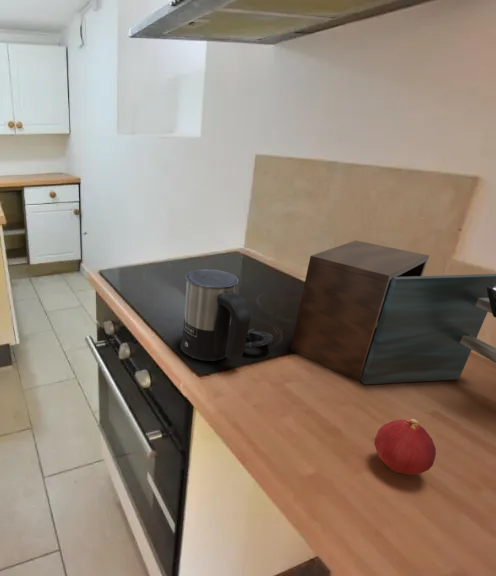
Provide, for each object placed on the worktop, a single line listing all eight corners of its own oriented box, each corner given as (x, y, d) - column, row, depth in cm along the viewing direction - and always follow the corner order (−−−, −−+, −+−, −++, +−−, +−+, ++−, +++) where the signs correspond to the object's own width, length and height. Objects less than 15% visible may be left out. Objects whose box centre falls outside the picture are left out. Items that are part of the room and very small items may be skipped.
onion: (374, 444, 51) (391, 396, 48) (428, 470, 47) (450, 419, 44) (362, 469, 47) (379, 418, 44) (419, 499, 43) (443, 446, 40)
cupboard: (397, 349, 73) (429, 255, 66) (357, 381, 64) (389, 275, 56) (333, 325, 82) (355, 240, 75) (290, 350, 73) (310, 255, 65)
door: (499, 405, 58) (555, 293, 51) (395, 412, 56) (437, 297, 49) (453, 375, 65) (496, 273, 58) (360, 380, 63) (392, 276, 56)
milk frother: (169, 347, 73) (174, 276, 68) (216, 322, 83) (223, 257, 77) (235, 381, 64) (247, 300, 58) (279, 347, 73) (293, 276, 68)
